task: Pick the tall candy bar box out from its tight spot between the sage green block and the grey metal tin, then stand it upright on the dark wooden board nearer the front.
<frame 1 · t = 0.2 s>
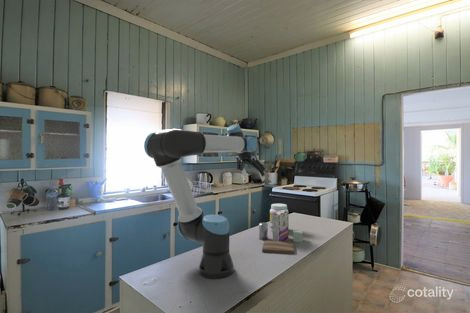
hand: (254, 178, 156), 35 cm above the counter, tool tilted 35°, fingers open, 13 cm apart
sage block: (297, 240, 149), on the counter
grey tin: (263, 238, 153), on the counter
board: (278, 248, 137), on the counter
supplement tub: (279, 230, 169), on the counter
candy bar box: (280, 239, 151), on the counter
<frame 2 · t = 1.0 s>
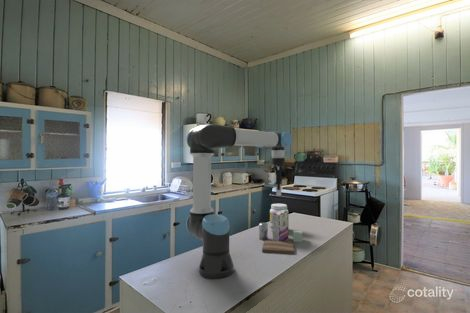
hand: (278, 193, 151), 27 cm above the counter, tool pointing down, fingers open, 13 cm apart
nothing on the counter moved.
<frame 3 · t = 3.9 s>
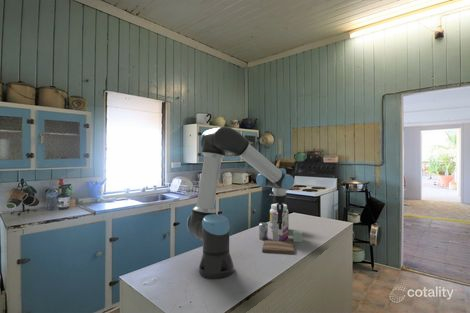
hand: (280, 231, 151), 5 cm above the counter, tool pointing down, fingers closed on candy bar box, 12 cm apart
candy bar box: (280, 239, 151), on the counter, touching gripper
everything else where it was.
when the fingers open (8 cm above the counter, at t = 11.4 s): candy bar box drops 2 cm, resting on board.
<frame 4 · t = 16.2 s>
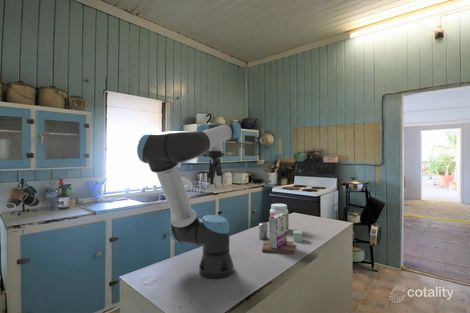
hand: (215, 188, 142), 32 cm above the counter, tool pointing down, fingers open, 13 cm apart
candy bar box: (278, 245, 137), point 1 cm above the counter, touching board
everything else where it was.
at the end: candy bar box inside the target area on the board (0.3 cm from its centre), point 1.3 cm above the board's base; candy bar box tilted 0°; grey tin moved 0.0 cm from its start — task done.
